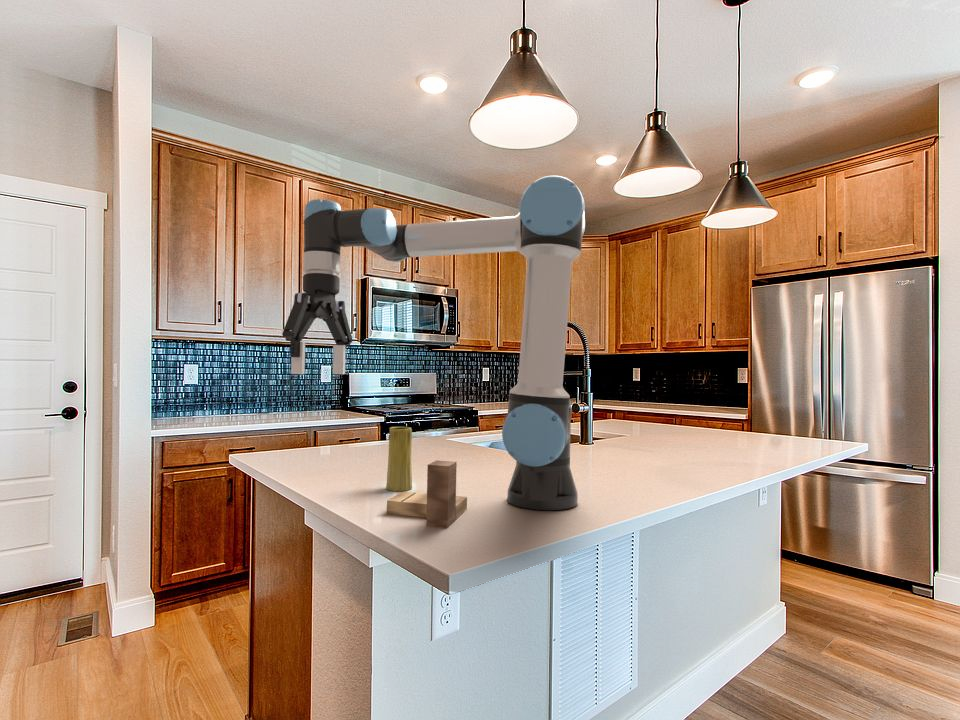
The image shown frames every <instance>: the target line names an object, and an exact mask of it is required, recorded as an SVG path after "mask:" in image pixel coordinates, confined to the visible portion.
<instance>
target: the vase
mask: <svg viewBox="0 0 960 720" xmlns="http://www.w3.org/2000/svg"><path fill="white" fill-rule="evenodd" d="M412 432H413V429H412V427H409V426H391V427H389V435H388V436H389V437H388V456H387V457H388V459H387V472H386V473H387V474H386V487H385V489H387V491H392V492H408V491H409V490H412V489H413V477H412V475H413V473H412V468H413V467H412V439H413V438H412V436H413V434H412Z"/></svg>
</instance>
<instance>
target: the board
mask: <svg viewBox="0 0 960 720" xmlns="http://www.w3.org/2000/svg"><path fill="white" fill-rule="evenodd" d="M467 510H468V496H459V495H456V510H455V521H456V520H458V518H459V517H460V516H461V515H462V514H464V513H465V512H466V511H467ZM426 511H427V493H425V492H424V493H423V492H421V493H420V492H411V491H400V493H397V494H395V495H394V496H392V497H391V498H389V499H387V500H386V514H387V515H398V516H409V517H421V518H426Z"/></svg>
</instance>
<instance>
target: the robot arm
mask: <svg viewBox="0 0 960 720" xmlns="http://www.w3.org/2000/svg"><path fill="white" fill-rule="evenodd" d="M585 204H586V203H585V199H584V196H583V193H582V192H581V190H580V189H579V187H578V185H576V184H575V183H574V182H573V181H572V180H570V179H569V178H567V177H564V176H561V175H547V176H543V177H541V178H538V179H535V181H534V182H532V183H531V184H530V185H528V187H526V189H525V190H524V192H523V194H522V195H521V199H520V202H519V208H518V209H519V212H518V213H517V214H516V215H515V216H514V215H511V216H501V217H489V218H488V217H487V218H486V217H485V218H475V219H474V218H473V219H460V220H449V221H448V220H447V221H436V222H435V221H434V222H421V223H420V222H417V223H408V224H397V223H396V218H395V217H394V214H393V212H392V211H391V210H390V209H388V208H383V207H382V208H381V207H380V208H377V207H369V208H360V209H348V210H347V209H345V210H342V208H341V205H340V203H338V202H336V201H334V200H330V199H321V198H320V199H318V198H317V199H312V200H309V201H308V202H307V203H306V204H305V207H304V218H303V269H302V270H303V272H304V274H303V276H302V291H303V292H296V293H294V299H293V305H292V307H291V311H290V312H289V315H288V318H287V320H286V322H285V326H284V328H283V330H282V333H281V334H282V335H281V336H282V337H283V338H285V341H286V342H290V347H289V350H290V352H289V353H290V354H289V356H290V358H291V359H290V361H291V366H290V367H291V369H290V374H291V375H306V374H305V371H306V369H305V367H306V363H305V362H306V341H303V339H304V337H305V336H306V335H307V333H308V331H309V330H310V328H311V326H312V324H313V323H314V321H315V320H316V319H320V320H322V321H323V322H325V323H326V325H327V328H328V330H329V332H330V334H331V337H332V339H333V341H334V342H335V344H334V345H333V347H332V349H333V351H332V352H333V353H332V375H345V374H346V358H347V355H346V354H347V346H351V344H352V343H353V336H352V333H351V329H350V325H349V321H348V317H347V313H346V304H345V301H344V300H336V295H338V294H340V282H341V281H340V277H339V275H340V274H341V247H342V248H347V247H349V248H350V247H363V248H365V249H366V250H368V251H370V252H373V253H375V254H376V255H378V256H379V257H381V258H382V259H384V260H386V261H389V262H394V263H400V262H402V261H404V260H406V259H407V258H418V257H419V258H421V257H436V256H437V257H439V256H455V255H457V256H458V255H472V254H489V253H490V254H491V253H492V254H493V253H505V252H507V253H509V252H517V253H519V254H520V255H522V256H524V257H525V258H526V262H527V263H526V272H525V274H526V275H525V285H524V286H525V288H524V300H523V301H524V302H523V312H522V325H521V339H520V352H519V363H518V364H519V365H518V377H517V378H518V379H517V383H516V385H514V386H513V387H512V388H511V389H510V390H509V393H508V404H507V414H506V416H505V420H504V421H503V425H502V430H501V435H502V436H501V437H502V442H503V446H504V448H505V450H506V452H507V453H508V454H509V456H510V457H512V459H513V460H515V461H516V462H515V467H514V471H513V473H512V476H511V480H510V483H509V486H508V488H507V498H506V499H507V502H508V503H509V504H510V505H513V506H516V507H519V508H524V509H530V510H537V511H538V510H539V511H561V510H569V509H571V508H574V507H577V506H578V499H579V498H578V496H579V495H578V490H577V487H576V483H575V480H574V476H573V473H572V470H571V432H572V431H571V430H572V429H571V420H572V418H571V417H572V412H573V410H572V409H573V408H572V403H571V402H572V401H571V398H570V397H571V396H570V394H569V393H568V392H567V391H566V390H565V388H564V386H563V383H564V370H565V358H566V348H567V347H566V346H567V336H568V335H567V333H568V332H567V331H568V319H569V308H570V307H569V306H570V295H571V282H572V281H571V279H572V271H573V270H572V267H573V262H574V261H576V260H577V259H578V258H579V256H581V253H582V243H583V236H584V234H585V233H584V232H585V229H586V218H585Z"/></svg>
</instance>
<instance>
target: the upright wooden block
mask: <svg viewBox="0 0 960 720" xmlns="http://www.w3.org/2000/svg"><path fill="white" fill-rule="evenodd" d="M457 467H458V465H457V461H451V460H437V459H436V460H434V461H432V462H431V463H429V464H427V470H426V471H427V474H426V475H427V478H426V494H427V511H426V517H425V518H426V519H425V520H426V522H425V526H426V527H429V528H431V527H432V528H441V529H448V528H449V527H450V526H452V525H453V524H454V523H455V522H456V520H455V510H456V496H457Z"/></svg>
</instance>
